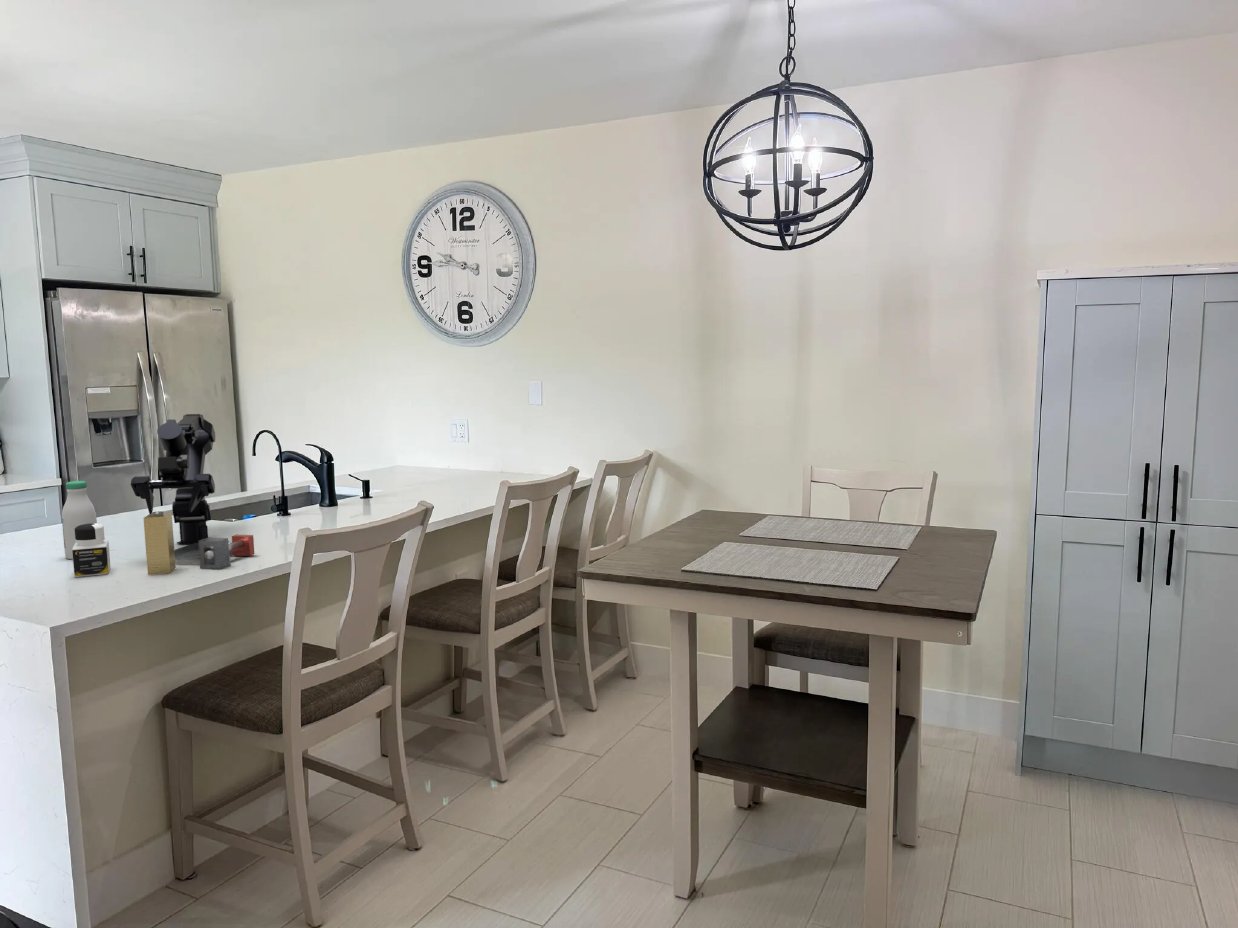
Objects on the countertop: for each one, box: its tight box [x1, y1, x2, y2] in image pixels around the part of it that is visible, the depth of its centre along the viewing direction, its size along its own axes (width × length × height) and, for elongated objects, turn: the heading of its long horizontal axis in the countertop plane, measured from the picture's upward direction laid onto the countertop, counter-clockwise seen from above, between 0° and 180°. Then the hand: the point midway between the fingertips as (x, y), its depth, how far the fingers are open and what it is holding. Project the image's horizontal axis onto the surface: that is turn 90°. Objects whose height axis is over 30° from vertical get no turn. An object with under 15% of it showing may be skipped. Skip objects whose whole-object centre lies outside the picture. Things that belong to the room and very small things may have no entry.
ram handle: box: [204, 534, 255, 559], centre depth 219 cm, size 5×15×5 cm, turn 169°
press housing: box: [199, 536, 231, 570], centre depth 214 cm, size 6×4×7 cm
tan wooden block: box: [143, 511, 177, 575], centre depth 209 cm, size 5×5×15 cm
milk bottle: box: [61, 480, 98, 560], centre depth 224 cm, size 8×8×20 cm
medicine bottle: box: [72, 522, 111, 578], centre depth 208 cm, size 7×7×12 cm
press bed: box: [174, 543, 234, 566], centre depth 222 cm, size 12×12×3 cm
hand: (170, 512), depth 216 cm, fingers open, 9 cm apart
